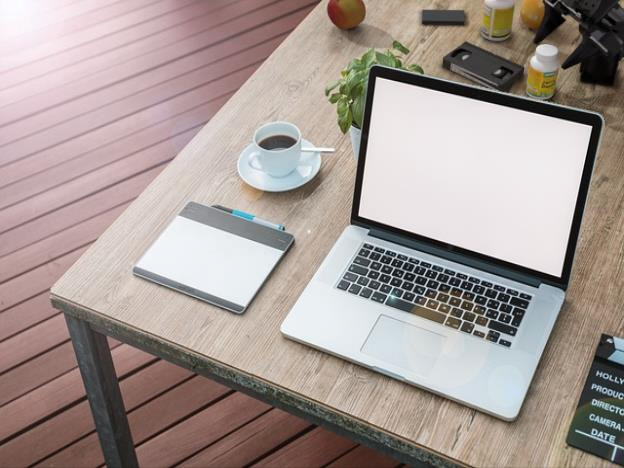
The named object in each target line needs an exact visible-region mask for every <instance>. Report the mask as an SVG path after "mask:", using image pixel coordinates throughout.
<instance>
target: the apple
mask: <svg viewBox="0 0 624 468" xmlns="http://www.w3.org/2000/svg"><path fill="white" fill-rule="evenodd" d="M326 13H327V16H328V18H329V20H330V21H331V23H332V24H333V25H334V26H336V28H338V29H341V30H344V31H345V30H349V29H352V28H353V29H354V28H355V27H357V26H358V25H360V24H362V23H363V22H364V20H365V19H366V14H367V8H366V4H365V2H364V0H329V1H328V2H327V6H326Z"/></svg>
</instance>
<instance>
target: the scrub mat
mask: <svg viewBox="0 0 624 468" xmlns="http://www.w3.org/2000/svg"><path fill="white" fill-rule="evenodd" d="M465 23H466V22H465V10H464V9H422V10H421V24H422V25H462V26H463V25H465Z"/></svg>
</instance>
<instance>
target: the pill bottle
mask: <svg viewBox="0 0 624 468" xmlns="http://www.w3.org/2000/svg"><path fill="white" fill-rule="evenodd" d="M515 7H516V0H484V2H483V10H482V11H483V12H482V21H481V27H480V28H481V29H480V30H481V31H480V32H481V33H480V34H481V36H482V37H483V38H485V39H486V40H488V41H491V42H502V41H505V40H507V39H509V38H510V36H511V34H512V28H513V21H514V13H515Z"/></svg>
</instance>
